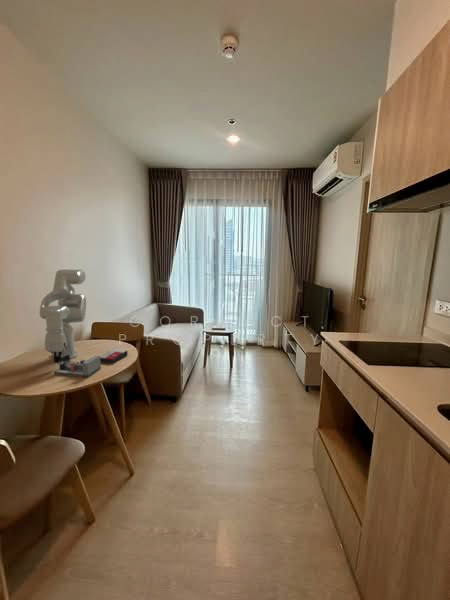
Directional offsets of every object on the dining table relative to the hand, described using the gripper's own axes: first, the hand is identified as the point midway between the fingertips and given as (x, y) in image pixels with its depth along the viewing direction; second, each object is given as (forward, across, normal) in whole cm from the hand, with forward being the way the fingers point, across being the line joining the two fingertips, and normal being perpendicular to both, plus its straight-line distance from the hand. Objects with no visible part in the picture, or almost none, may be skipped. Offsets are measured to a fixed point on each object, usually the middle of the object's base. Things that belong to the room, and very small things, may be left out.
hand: (57, 361), depth 146 cm
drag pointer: (+2, +13, -5) cm, 14 cm away
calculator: (+5, +21, +20) cm, 30 cm away
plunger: (+2, +8, -2) cm, 9 cm away
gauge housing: (+4, +13, -1) cm, 14 cm away
